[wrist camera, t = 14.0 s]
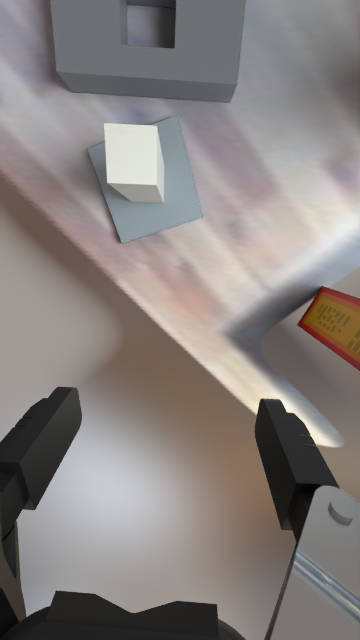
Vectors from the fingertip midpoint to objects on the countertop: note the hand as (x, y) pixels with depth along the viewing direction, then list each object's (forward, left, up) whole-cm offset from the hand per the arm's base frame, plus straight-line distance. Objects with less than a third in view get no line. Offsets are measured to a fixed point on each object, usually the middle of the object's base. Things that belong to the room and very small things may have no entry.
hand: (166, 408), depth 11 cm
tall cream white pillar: (-1, -14, -24) cm, 28 cm away
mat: (-1, -14, -25) cm, 29 cm away
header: (-6, -27, -25) cm, 37 cm away
